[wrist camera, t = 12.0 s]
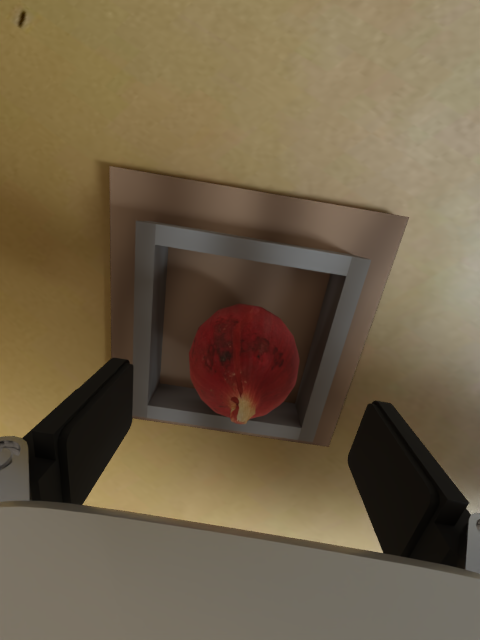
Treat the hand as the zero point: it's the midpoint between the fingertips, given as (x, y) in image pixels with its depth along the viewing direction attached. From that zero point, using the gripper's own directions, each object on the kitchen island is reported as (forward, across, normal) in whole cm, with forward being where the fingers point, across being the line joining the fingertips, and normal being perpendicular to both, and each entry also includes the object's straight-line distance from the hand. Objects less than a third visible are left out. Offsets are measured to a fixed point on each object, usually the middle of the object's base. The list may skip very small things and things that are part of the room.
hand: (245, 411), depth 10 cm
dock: (+9, +1, 0) cm, 9 cm away
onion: (+8, 0, 0) cm, 8 cm away
